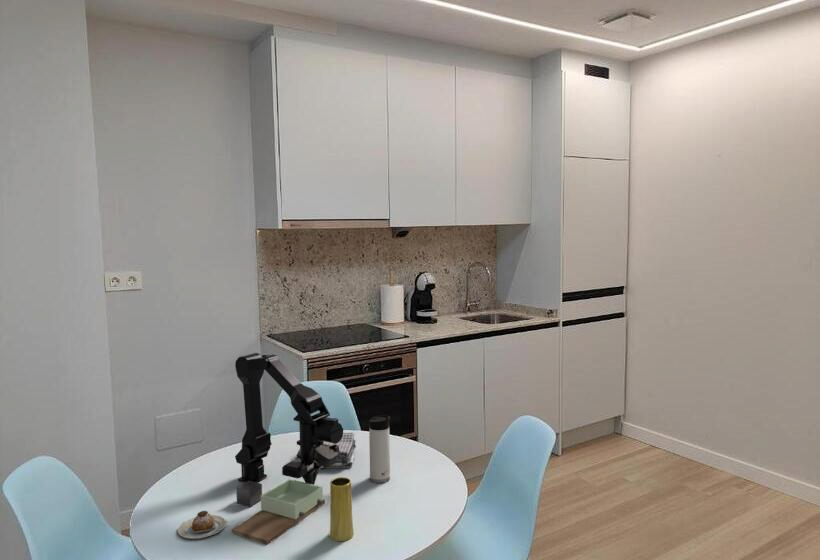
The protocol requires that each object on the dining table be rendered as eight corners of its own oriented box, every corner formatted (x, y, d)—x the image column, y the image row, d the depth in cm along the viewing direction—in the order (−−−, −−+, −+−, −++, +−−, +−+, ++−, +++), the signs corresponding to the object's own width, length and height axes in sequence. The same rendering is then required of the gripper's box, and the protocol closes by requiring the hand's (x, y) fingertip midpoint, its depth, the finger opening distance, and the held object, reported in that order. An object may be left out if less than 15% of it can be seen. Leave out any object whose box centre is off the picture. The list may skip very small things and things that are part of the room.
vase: (330, 529, 151) (329, 476, 149) (353, 528, 151) (352, 475, 150) (329, 542, 145) (327, 487, 143) (353, 540, 145) (352, 486, 144)
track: (231, 532, 149) (231, 529, 149) (291, 494, 171) (291, 491, 170) (267, 544, 144) (267, 540, 144) (324, 503, 165) (324, 500, 165)
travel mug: (388, 484, 177) (387, 420, 175) (367, 482, 178) (366, 419, 177) (393, 475, 183) (392, 414, 181) (372, 473, 184) (372, 412, 183)
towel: (306, 452, 203) (305, 430, 203) (358, 452, 203) (357, 431, 202) (296, 470, 188) (295, 447, 188) (352, 470, 188) (351, 447, 187)
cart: (258, 508, 159) (258, 495, 159) (287, 491, 170) (286, 478, 170) (298, 520, 153) (297, 505, 153) (325, 501, 164) (324, 487, 163)
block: (236, 504, 165) (236, 487, 165) (249, 496, 170) (248, 480, 169) (250, 507, 163) (249, 490, 163) (262, 500, 167) (261, 483, 167)
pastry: (226, 538, 148) (225, 520, 147) (175, 545, 145) (174, 528, 144) (226, 515, 159) (226, 499, 159) (180, 522, 156) (179, 506, 155)
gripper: (312, 452, 155) (313, 508, 157) (350, 430, 172) (351, 481, 173) (280, 445, 161) (281, 499, 162) (320, 425, 177) (321, 474, 179)
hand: (310, 488), depth 169 cm, fingers closed
